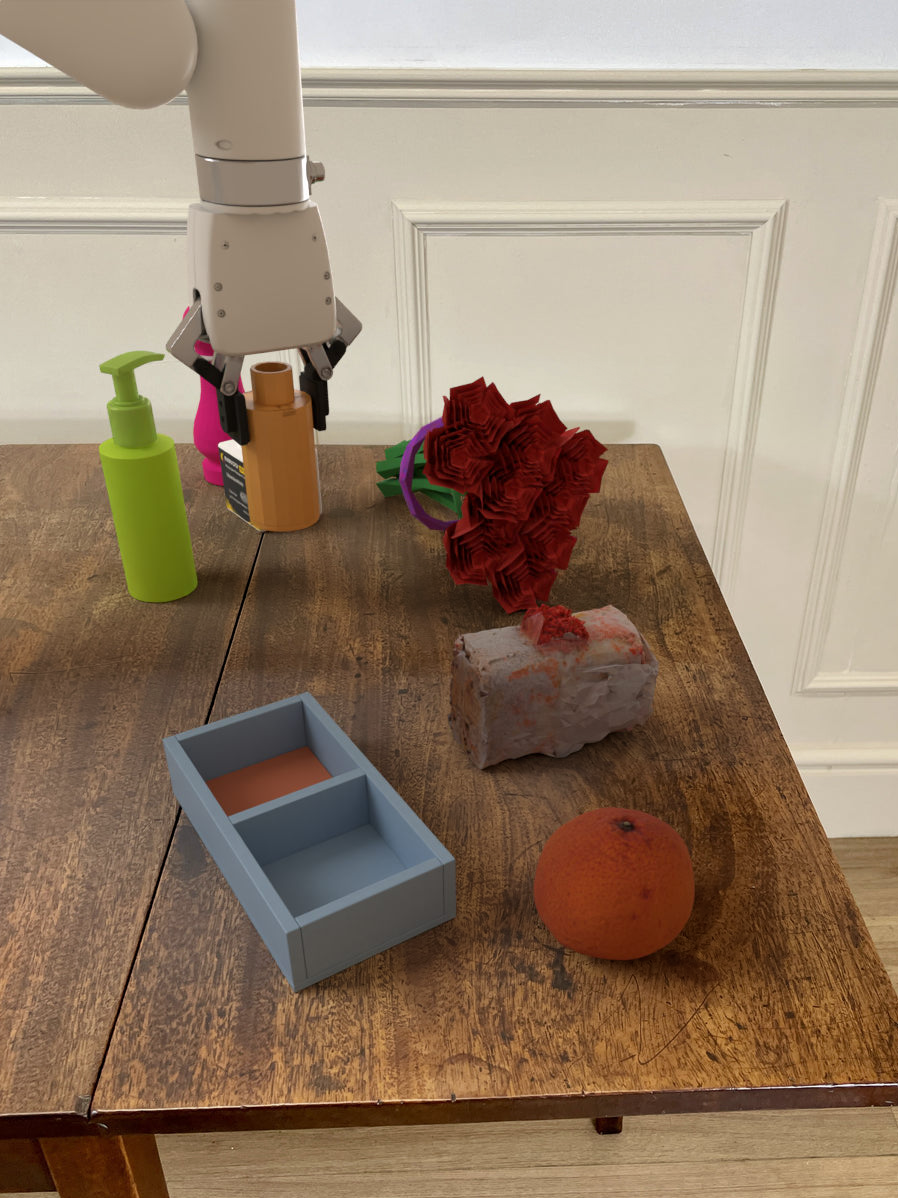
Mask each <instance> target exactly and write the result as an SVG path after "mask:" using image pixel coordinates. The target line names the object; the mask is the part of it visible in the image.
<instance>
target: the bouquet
mask: <svg viewBox="0 0 898 1198" xmlns="http://www.w3.org/2000/svg"><path fill="white" fill-rule="evenodd" d="M442 399H443V403H444V404H443V409H442V415H441V416H440V417H438V418H436V419H434V420H432V421H430V422H429V423H426V424H425V425H423V426H421V427H420V428H419V430H418V431H417V432H416V433H415V435H414V436H413V437H412V438H411V439H408V440H406V439H404V440H401V442H398V443H397V444H395V445H393V446H391V447H388V448H385V449H384V450H383V451H384V457H385V459H384V460H380V461H375V464H376V465H375V473H376V474H378V475H379V476H380V477H382V479H384V480H381V481H378V482H375V485H376V486H377V488H378V489H379V491H380V493H381V494H382V495H383V496H384V498H390V497H397V496H401V495H403V497H404V500H405V502H406V503H405V504H406V505H407V508H408V510H409V512H410V516H412V517H413V518H415V519H416V520H417V521H419V523H421V524H423V526H425V527H426V528H428V529H429V530H431V531H438V532H444V535H443V538H442V543H443V544H442V545H443V548H444V550H445V552H446V554H445V568H446V569H447V570H448V572H449V575H450V576H449V577H451V578H452V581H453V582H454V584H455V585H456V586H457V585H466V584H469V585H475V586H477V585H478V586H483V587H488V586H489V584H488V583H490V584H491V590H492V597H494V599H495V600H496V601H497V603H499V605H500V606H501V608H503V610H504V611H505V612H506V613H507V615H509V614H511V613H514V612H517V611H519V610H528V609H529V608H537V607H538V608H539V606H538V603H537V601H540V602H544V603H548V602H549V598H550V593H551V589H552V587H553V586H554V584H555V581H556V579H557V577H558V576H559V571H557V570H562V571H567V569H568V567H569V564H570V560H571V557H572V553H573V549H574V547H575V545H576V544H577V541H578V537H577V536H574V535H573V533H572V532H571V531H574V530H578V529H579V528H580V525H581V518H582V515H583V513H584V510H585V508H586V505H587V504H588V502H589V499H590V498H592V497H591V494H600V492H601V487H602V481H603V476H604V474H605V471H606V469H607V466H609V465H608V464H609V459H605V458H603V457H602V458H601V456H602V455H604V454H605V453H606V452H608V450H609V449H608V448H607V447H606V446H605V445H603V443H601V442H600V441H599V440H598V439H597V438H595V436H594V435H593V433H592V431H591V430H590V429H587V428H586V429H583V430H581V431H579V430H580V429H581V426H577V427H573V428H570V429H568V427H567V425H565V423H563V421H562V420H561V419H560V417H559V415H558V413H557V412H556V410H555V409H554V406H553V405H552V402H551V399H545V400H544V401H542V402H540V400H541V393H539V394H536V395H535V396H532V397H530V398H528V399H525V400H519V401H518V400H517V401H512V402H510V403H509V402H507V401H506V399H505V397H504V396H503V395H502V394H501V392H500V390H499V389H498V388H497V386H496V384H495V382H494V381H491V383H489V385H487V383H486V380H485V377H484V375H483V376H481V377H479V378H477V379H476V380H474V381H472V382H469V383H465V384H461V385H457V386H453V387H449V398H448V397H447V395H442ZM578 431H579V432H578ZM415 493H419V494H422V495H424V496H426V497H428V498H430V499H431V500H433V501H435V502H437V503H439V504H441V505H442V506H444V507H446V508H447V509H449V510H451V511H452V512H454V513H456V514H457V516H458V519H453V520H447V521H444V520H441V519H438V518H436V517H433V516H431V515H430V514H429V513H427V512H426V510H425V509H424V507H423V506H422V504H421V503H420V501H419V499H418V498H417V497H416V495H415ZM461 497H464V499H463V501H462V499H461ZM536 600H537V601H536Z"/></svg>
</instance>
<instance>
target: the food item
mask: <svg viewBox="0 0 898 1198" xmlns="http://www.w3.org/2000/svg"><path fill="white" fill-rule="evenodd" d="M525 610H526V611H525V615H523V616H522V620H521V623H520V624H519V625H514V626H513V625H511V626H505V627H500V628H492V629H487V630H479V631H477V632H475V633H474V632H468V633H465V634H462V633H461V634H459V635H458V638H457V639H456V640H455V641H454V643H453V645H454V649H453V651H452V656H453V657H452V659H451V662H450V674H451V677H452V678H451V679H450V681H449V703H448V704H449V705H450V712H449V713H448V714H447V723H448V727H449V729H450V731H451V733H452V735H451V736H452V737H453V739H454V740H455V741H456V743H457V744H459V745H460V746H461V748H463V750H464V752H465V753H466V755H467V756H468V757H469V758H470V759H469V760H471V761H472V763H473V764H474V765H475V766H476V768H478V769H479V770H483V769H486V768H487V767H490V766H495V765H497V764H498V763H501V762H503V761H505V760H510V759H512V760H516V759H518V758H521V757H524V756H528V755H530V754H537V753H540V754H544V755H546V756H549V757H553V758H555V759H559V758H561V759H562V758H567V757H568V756H569V755H570V754H573V753H575V752H579V751H580V750H581V749H582V748H583V746H584V745H585V744H594V743H597V742H600V741H602V740H603V739H604V738H605V737H607V736H608V734H611V733H618V732H619V733H621V732H622V733H630V731H632V730H633V729H634V727H635V726H637V725H638V726H639V725H640V726H644V724H645V723H646V722H647V720H648V719H650V718H651V716H652V715H653V714H654V708H653V703H654V701H655V688H656V686H657V679H658V677H659V672H660V671H659V670H660V668H659V665H660V661H659V660H658V659H657V658H656V655H655V653H654V652H653V651H652V650H650V644H649V643H648V641H647V640H646V638H645V637H644V636H643V634H642V633H641V631H640V630H639V629H638V628H637V627H636V626H635V624H633V622H632V621H631V620H630V619H629V618H628V616H627V615H626V613H624V612H622V611H621V610H620V609H618V608H616V607H615V606H614V605H613V604H608V605H605V606H603V607H600V608H592V609H590V610H582V611H578V612H574V613H572V610H573V609H569V608H567V607H566V606H564V605H560V604H557V605H555V606H552V607H551V606H549V605H547V604H545V603H541V604H540V607H539V606H538V607H537V608H529V609H525Z"/></svg>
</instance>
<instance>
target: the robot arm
mask: <svg viewBox="0 0 898 1198" xmlns="http://www.w3.org/2000/svg"><path fill="white" fill-rule="evenodd" d="M0 35H1V36H2V37H4V38H6V39H7V40H9V41H10V42H12V43H14V44H15V45H17V46H19V47H20V48H22V49H24V50H26V51H27V52H29V53H31V54H32V55H33V56H35V57H37V58H38V59H40V60H42V61H43V62H45V63H46V64H48V65H50V66H52V67H53V68H55V69H57V70H58V71H60V72H61V73H63V74H65V75H66V76H67V77H70V78H71V79H72V80H74V81H76V82H77V83H79V84H81V85H82V86H84V87H86V88H87V89H88V90H90V91H92V92H93V93H95V94H97V96H100V97H101V98H103V99H104V100H106V101H108V102H110V103H111V104H114V105H117V106H120V107H123V108H126V109H132V110H142V111H143V110H152V109H157V108H160V107H163V106H165V105H167V104H169V103H171V102H173V101H174V100H175V99H177V98H178V97H179V96H180V95H181V94H182V93H183V92H184V91H185V93H186V95H187V96H186V97H187V104H188V110H189V120H190V128H191V136H192V144H193V153H194V159H195V167H196V176H197V183H198V184H197V185H198V193H199V200H200V202H193V203H190V204H189V205H188V209H187V210H188V211H187V222H186V274H187V292H188V293H187V294H188V306H189V309H190V310H189V311H188V313H187V314H186V315H185V317H184V318H183V317H182V319H183V320H181V321H180V323H179V324H178V326H177V327H176V329H175V330H174V331H173V333H172V334H171V336H170V337H169V338H168V340H167V342H166V343H165V351H166V352H167V353H169V354H170V355H171V356H172V357H174V358H175V359H177V361H179V362H180V363H181V364H183V365H184V366H186V367H187V368H189V369H191V371H193V372H195V373H196V374H197V375H198V376H199V377H200V376H201V377H203V378H204V379H205V380H206V381H208V382H209V383H210V384H212V385H213V386H214V387H215V388H216V394H217V402H218V410H219V418H220V424H221V428H222V430H223V431H224V432H225V433H227V434H228V435H229V436H230V437H231V438H232V439H233V440H234V441H236V442H237V443H238V444H239V445H240V446H243V445H248V443H249V442H250V437H249V428H248V419H247V410H246V401H245V396H244V395H243V394H242V393H241V392H239V389H238V382H239V378H240V374H241V375H242V370H243V369H242V368H243V365H244V361H245V356H252V355H259V354H267V353H274V352H281V351H287V350H295V349H296V350H297V352H298V355H299V357H300V359H301V361H302V363H303V366H304V367H303V371H300V372H299V373H300V374H299V375H298V380H299V381H298V382H299V390H300V391H303V392H306V393H307V394H308V395H310V396H311V402H312V416H313V430H316V431H318V432H325V431H326V430H327V416H329V415H330V399H329V384H328V383H329V382H328V381H329V380H331V379H332V377H333V375H334V369H335V368H336V366H337V365H338V364H339V362H340V361H341V359H342V358H343V357H344V355H345V354H346V352H347V348H348V347H349V346H351V345H352V343H354V341H355V340H356V338H357V337H358V336H359V335H360V333H361V332H362V330H363V323H362V322H361V321H360V320H359V319H358V318H357V317H356V315H355V314H354V313H352V312H351V310H350V309H349V308H347V306H346V305H345V304H344V303H343V302H342V301H341V300H340V299H339V298H338V297H337V296H336V294H335V284H334V277H333V275H334V274H333V269H332V264H331V262H332V261H331V257H330V251H329V246H328V241H327V235H326V232H325V228H324V224H323V223H324V222H323V220H322V217H321V216H322V215H321V212H320V209H319V205H318V203H316V202H315V201H313V200H311V199H310V196H312V194H313V193H312V186H314V185H315V184H316V183H323V182H325V179H326V170H325V166H324V164H323V163H322V161H312V160H311V159H310V155H308V154H307V147H306V146H307V145H306V144H307V143H306V131H305V117H304V115H305V114H304V102H303V101H304V100H303V88H302V87H303V85H302V72H301V71H302V70H301V56H300V55H301V54H300V42H299V41H300V40H299V39H300V38H299V27H298V12H297V3H296V0H0ZM197 340H199V341H201V342H204V343H209V344H211V346H212V348H213V350H214V354H213V359H212V363H210V362H209V361H207V360H206V359H205V358H203V357H202V356H201V355H199V354H198V353H197V352H196V351H195V348H194V345H195V343H196V341H197Z"/></svg>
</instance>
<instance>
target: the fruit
mask: <svg viewBox="0 0 898 1198" xmlns="http://www.w3.org/2000/svg"><path fill="white" fill-rule="evenodd" d="M693 868H694V867H693V862H692V858H691V856H690V852H689V849H688V847H687V845H686V843H685V841H684V839H683V838H682V836H681V835H680V834H679V833H678V832H677V830H675V829H674V828H673V827H672V826H671V825H670V824H669V823H668V822H666V821H664V820H662V819H661V818H658V817H656V816H654V815H652V814H649V813H647V812H645V811H641V810H638V809H631V808H623V807H616V806H607V807H599V808H597V809H593V810H589V811H587V812H583V813H581V814H579V815H576V816H575V817H574V818H572V819H571V820H568V821H567V822H565V823H564V824H562V825H561V826H560V827H558V828H557V829H556V830H555V831H554V832H553V833H552V834H551V835H550V837H549V838H548V840H547V841H546V842H545V843H544V846H543V848H542V850H541V853H540V855H539V858H538V862H537V866H536V869H535V876H534V881H533V889H532V892H533V898H534V905H535V909H536V911H537V914H538V916H539V918H540V919H541V922H542V923H543V924H544V925H545V927H546V928H547V930H548V931H549V933H551V935H552V936H553V938H554V939H555V940H556V941H557V942H558V943H559V944H560V945H561V946H563V947H565V948H567V949H569V950H571V951H574V952H576V953H578V954H579V955H584V956H588V957H592V958H595V959H603V960H610V961H611V960H612V961H613V960H614V961H631V960H637V959H640V958H644V957H646V956H649V955H652V954H654V953H656V952H659V951H660V950H661V949H663V948H665V947H667V946H668V945H670V944H671V943H672V942H673V941H674V940H675V939H676V938H677V937H678V936H679V934H680V933H681V932H682V930H683V929H684V928H685V926H686V924H687V922H688V920H689V919H690V917H691V914H692V912H693V907H694V902H695V897H696V894H695V893H696V892H695V891H696V887H695V886H696V884H695V875H694V869H693Z"/></svg>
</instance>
